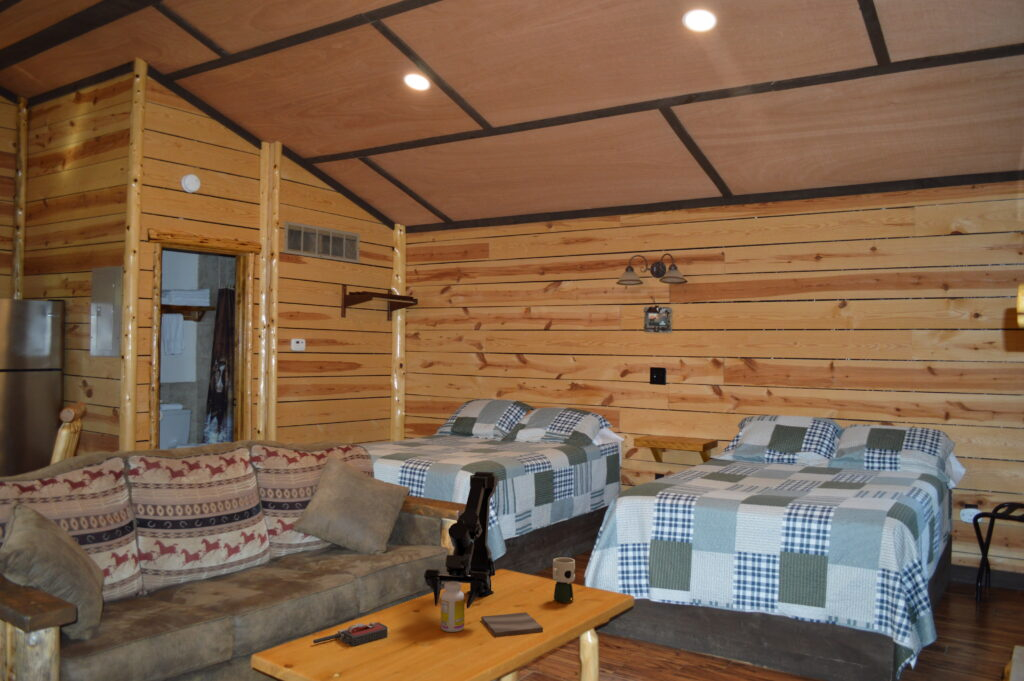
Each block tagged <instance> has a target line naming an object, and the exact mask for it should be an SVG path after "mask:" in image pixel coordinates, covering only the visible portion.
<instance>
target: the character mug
mask: <svg viewBox="0 0 1024 681" xmlns="http://www.w3.org/2000/svg"><path fill="white" fill-rule="evenodd" d="M575 572H576V559H574V558H571V557H564V556H563V557H556V558H555V557H554V558H553V559H552V580H553V581H555V585H554V590H553V591H554V593H553V600H555V601H557V602H560V603H570V602H571V601H574V589H573V584H572V582H574V581H575V580H576V573H575Z"/></svg>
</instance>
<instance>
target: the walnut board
mask: <svg viewBox="0 0 1024 681" xmlns="http://www.w3.org/2000/svg"><path fill="white" fill-rule="evenodd" d="M480 619H481V622H482V623H483V624H484V626H485V627H486V628H487V629H488V630H489V631H490V632H491V633H492V634H493V636H494V637H495V638H499V637H507V636H515V635H516V636H517V635H528V634H536V633H543V632H544V628H543V626H542V625H541V624H540V623H539V622H537V620H535V619H534V618H533V617H532V616H531V615H530V614H529V613H528V612H527V611H526V612H525V611H524V612H515V613H505V614H504V613H503V614H494V615H493V614H492V615H485V616H481V618H480Z"/></svg>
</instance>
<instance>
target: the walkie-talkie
mask: <svg viewBox="0 0 1024 681" xmlns="http://www.w3.org/2000/svg"><path fill="white" fill-rule="evenodd" d="M339 638H340V639H339ZM386 638H388V626H387V625H385V624H383V623H380V622H372V621H370V622H369V624H365V623H364V622H360V623H356V624H354V625H353V624H351V625H350V626H349V627H348V628H345V629H340V630H337V633H334V634H331V635H328V636H323V637H319V638H315V639H313V641H312V642H313V644H318V643H323V642H326V641H330V640H334V639H336V640H337V639H339V641H340V642H343V643H345V644H346V645H347V646H351V647H357V646H360V645H361V646H362V645H365V644H368V643H372V642H375V641H379V640H382V639H383V640H384V639H386Z"/></svg>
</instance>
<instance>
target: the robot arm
mask: <svg viewBox="0 0 1024 681" xmlns="http://www.w3.org/2000/svg"><path fill="white" fill-rule="evenodd" d="M498 480H499V478H498V475H496V474H495V472H494V471H491V472H490V471H475V472H474V474H471V475H469V487H470V488H469V491H468V495H467V500H466V504H465V507H464V511H463V512H462V513H461V514H460V515H459V516H458V518H457V519H456V522H454V523H452V524H451V525H450V526H449V528H448V530H447V531H448V532H447V533H448V537H449V539H450V542H451V545H452V547H453V552H452V554H448V555H446V557H445V566H444V567H446V572H447V573H448V574H444V573H443V574H441V571H440V569H439V568H438V569H437V568H427V569H426V570H425V571H424V573H423V578H424V580H425V583H426V586H428V587H429V588H430V589H431V590H433V596H434V598H433V599H434V606H435V607H437V606H438V605H439V602H440V601H439V600H440V597H441V590H442V589H441V585H442V582H444V583H446V582H451V581H456V582H460V583H461V584H462V583H463V584H469V585H470V586H469V590H468V591H466V594H467V595H468V596H467V600H466V609H469V608H470V607H471V605H472V604H473V603H474V601H475V600H476V599H477V598H478V597H480V598H482V597H486V596H488V595H492V594H494V592H495V591H493V590H492V580H491V577H493V576H496V567H495V562H494V559H493V557H492V550H491V549H490V547H489V544H488V540H489V539H488V538H489V523H490V522H489V520H490V506H491V498H492V497H493V496H494V495H495V493H496V489H497V486H498V483H499V482H498Z"/></svg>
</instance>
